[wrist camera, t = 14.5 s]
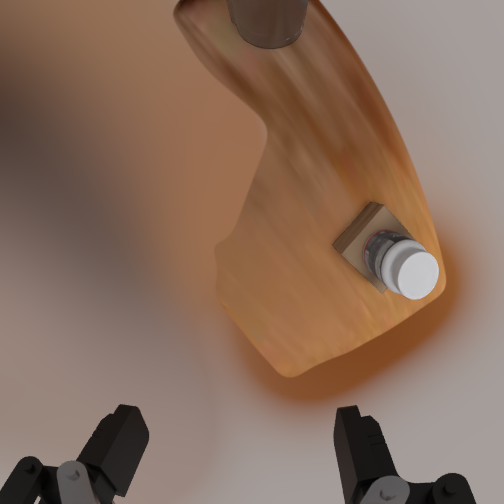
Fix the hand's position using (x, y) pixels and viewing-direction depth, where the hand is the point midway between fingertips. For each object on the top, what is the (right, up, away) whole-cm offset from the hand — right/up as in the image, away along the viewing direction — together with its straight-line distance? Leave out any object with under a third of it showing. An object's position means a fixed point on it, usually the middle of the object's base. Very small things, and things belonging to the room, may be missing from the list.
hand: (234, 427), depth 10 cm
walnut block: (+17, +8, +28) cm, 34 cm away
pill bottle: (+17, +7, +23) cm, 30 cm away
